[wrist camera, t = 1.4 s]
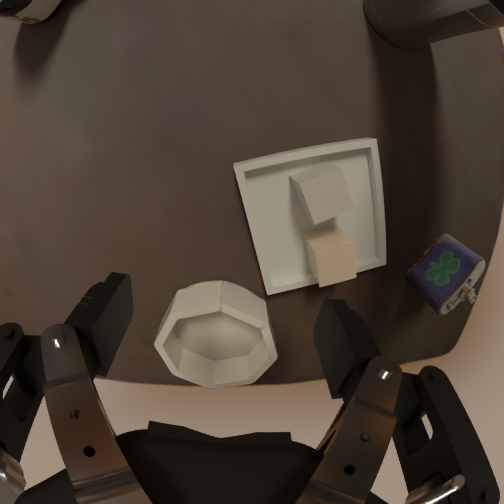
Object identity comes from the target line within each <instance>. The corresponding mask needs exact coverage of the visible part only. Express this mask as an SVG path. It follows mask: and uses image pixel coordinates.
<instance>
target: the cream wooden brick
mask: <svg viewBox="0 0 504 504" xmlns="http://www.w3.org/2000/svg"><path fill="white" fill-rule="evenodd" d="M304 238H305V244H306V250H307V256H308V262H309V266H310V268H311V270H312V272H313V274H314V276H315V278H316V280H317V282H318V284H319V287H323V286H327V285H331V284H335V283H338V282H342V281H346V280H350V279H353V278H356V262H355V248H354V242H353V241H352V240H351V239H350V238H349V237H348V236H347V234H346V233H345V232H344V231H343V230H342V229H341V228H340V227H339V226H338V225H336V226H332V227H328V228H323V229H319V230H315V231H311V232H306V233H304Z"/></svg>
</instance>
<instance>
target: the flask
mask: <svg viewBox="0 0 504 504" xmlns="http://www.w3.org/2000/svg"><path fill="white" fill-rule="evenodd" d="M484 268H485V260H484V259H483V258H482V257H481V256H479V255H477V254H476V253H474V252H473V251H471V250H470V249H468V248H467V247H466V246H464V245H463V244H462V243H460V242H459V241H457V240H456V239H454V238H453V237H452V236H450V235H449V234H447V233H443V234H441V235H440V236H439V237H438V238H437V239H436V241H435V243H433V245H431V247H429V248H428V249H427V251H426V252H425V253H424V256H423V257H422V258H420V259H419V261H418V262H417V263H416V264H414V265H413V267H411V268H410V269H409V270H408V272H407V275H406V278H407V279H408V282H409V283H410V284H411V285H412V286H413V287H414V288H415V289H416V290H417V291H418V292H419V293H420V294H421V296H422V297H423V298H424V299H425V300H426V301H427V303H428V304H429V305H430V306H431V307H432V308H433V309H434V310H435V312H437V313H438V314H440V315H445V314H447V313H448V312H449V311H450V310H452V309H453V308H454V307H455V306H456V305H457V304H458V303H459V302H460V301H466V299H467V298H469V301H471V299H472V298H473V297H474V296H475V297H476V295H475V293H474V290H475V289H474V288H472V287H473V286H474V284H475V283H476V281H477V280H478V278H479V277H480V276H481V274H482V272H483V271H484ZM471 288H472V289H471ZM474 300H475V299H472V301H471V302H470V303H472V302H474Z"/></svg>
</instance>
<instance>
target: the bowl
mask: <svg viewBox="0 0 504 504" xmlns="http://www.w3.org/2000/svg"><path fill="white" fill-rule="evenodd" d="M154 344H155V345H154V346H155V347H156V349H157V351H158V352H159V354H160V355H161V357H162V359H163V360H164V362H165V363H166V365H167V366H168V368H169V369H170V371H171V372H172V374H174V375H175V376H177V377H180V378H183V379H185V380H188V381H190V382H193V383H196V384H198V385H201V386H204V387H207V388H210V389H211V388H213V389H219V388H226V387H233V386H240V385H246V384H252V382H253V383H254V382H255V381H256V380H257V379H258V378H259V377H260V376H261V375H262V374H263V373H264V372H265V371H266V370H267V369H268V368H269V367H270V366H271V365H272V364H273V363H274V362H275V361H276V360H277V357H278V356H277V349H276V343H275V337H274V332H273V328H272V324H271V321H270V316H269V312H268V309H267V306H266V302H265V301H264V300H263V299H261V298H259V297H258V296H257V295H256V294H255V293H253V292H252V291H251V290H249V289H247V288H246V287H243V286H241V285H239V284H236V283H232V282H228V281H222V280H221V281H220V280H210V281H203V282H198V283H195V284H192V285H190V286H188V287H186V288H184V289H181V290H179V291H177V293H176V295H175V297H174V298H173V300H172V301H171V303H170V305H169V308H168V310H167V312H166V314H165V316H164V317H163V319H162V322H161V325H160V328H159V331H158V334H157V336H156V340H155V343H154Z"/></svg>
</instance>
